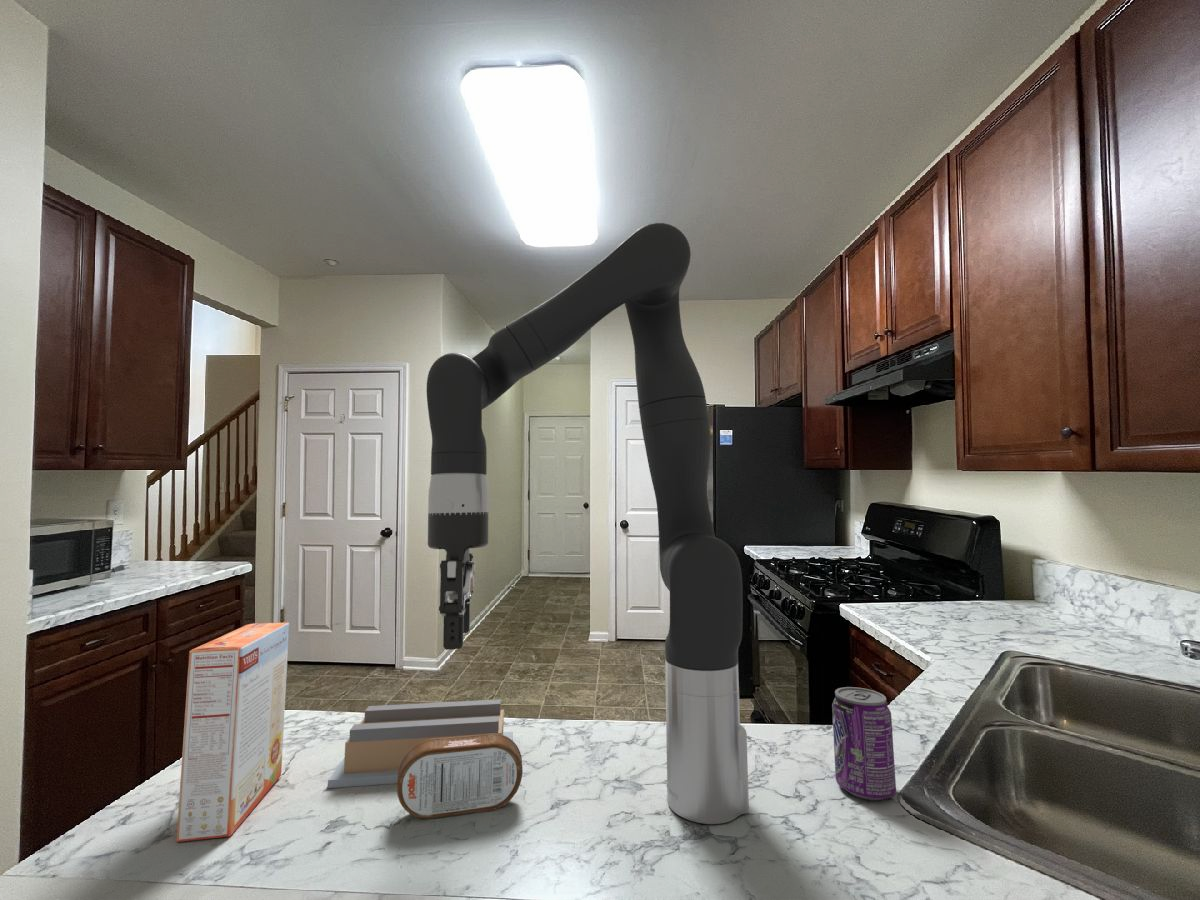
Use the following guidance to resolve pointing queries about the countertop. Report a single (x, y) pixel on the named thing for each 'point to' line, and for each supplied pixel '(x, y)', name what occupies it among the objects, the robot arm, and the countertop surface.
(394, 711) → the grey tan slotted stand
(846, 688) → the beverage can
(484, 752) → the tin
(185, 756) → the cracker box
